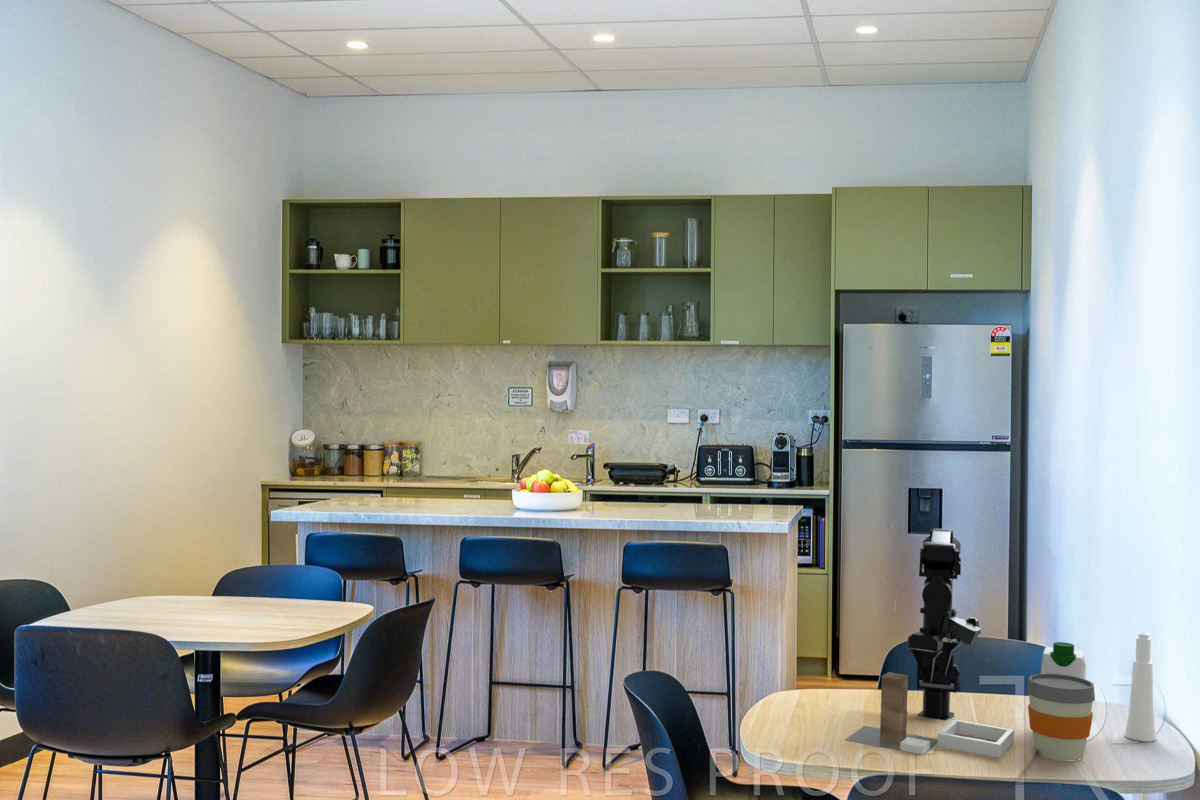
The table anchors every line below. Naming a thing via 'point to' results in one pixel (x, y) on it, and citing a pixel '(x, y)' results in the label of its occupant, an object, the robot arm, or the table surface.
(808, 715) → the table surface
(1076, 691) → the reusable coffee cup
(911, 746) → the tile on board
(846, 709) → the table surface
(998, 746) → the box
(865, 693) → the table surface
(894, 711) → the walnut handle
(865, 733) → the slate board
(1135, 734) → the cosmetic bottle
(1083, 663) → the milk carton
